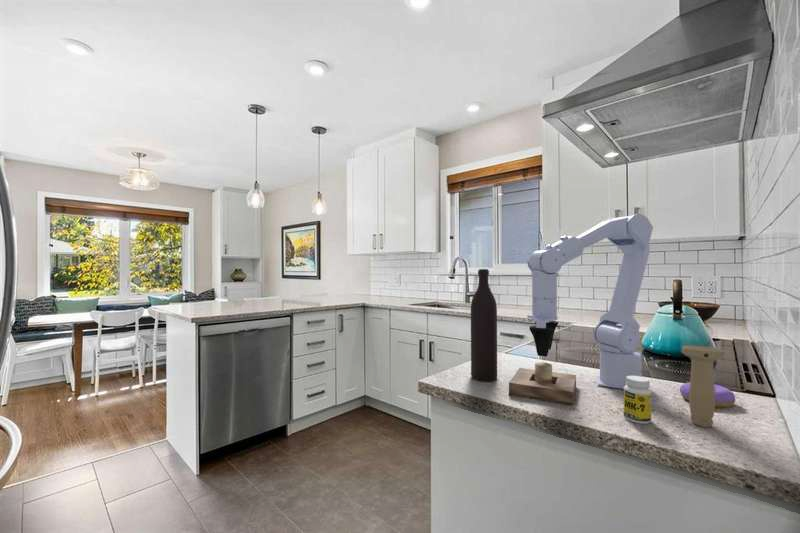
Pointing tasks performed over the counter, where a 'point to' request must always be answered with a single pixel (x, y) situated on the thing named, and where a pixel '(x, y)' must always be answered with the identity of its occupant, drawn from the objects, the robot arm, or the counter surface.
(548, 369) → the peg
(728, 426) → the counter surface
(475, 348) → the wine bottle
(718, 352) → the handle
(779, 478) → the counter surface
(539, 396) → the socket block
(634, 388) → the supplement bottle
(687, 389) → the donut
